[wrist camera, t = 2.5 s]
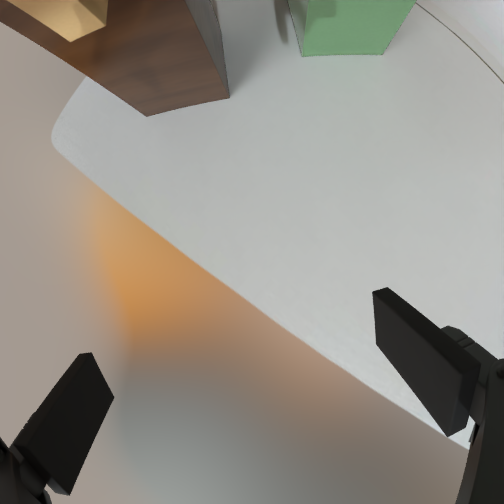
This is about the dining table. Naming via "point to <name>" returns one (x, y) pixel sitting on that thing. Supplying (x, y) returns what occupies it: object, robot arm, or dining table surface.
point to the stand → (143, 51)
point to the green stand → (347, 25)
